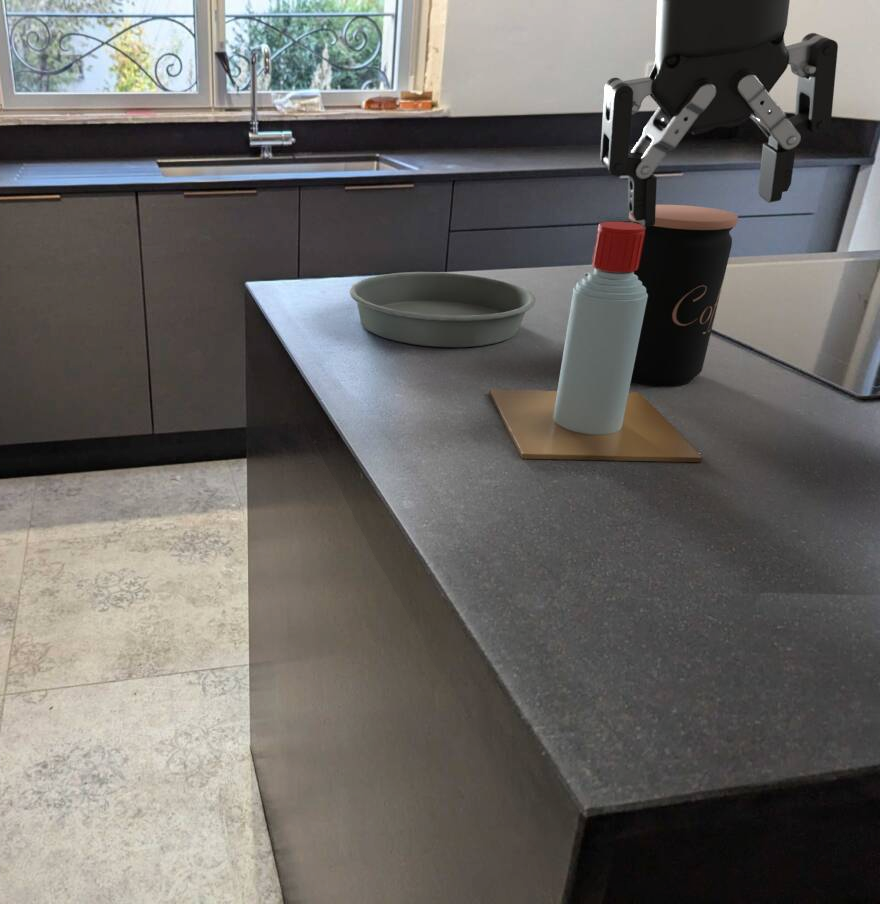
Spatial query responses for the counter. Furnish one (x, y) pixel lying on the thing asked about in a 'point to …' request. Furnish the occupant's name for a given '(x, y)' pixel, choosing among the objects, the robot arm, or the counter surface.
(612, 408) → the bottle
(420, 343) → the cake pan
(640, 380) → the coffee jar
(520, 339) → the counter surface
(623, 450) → the mat
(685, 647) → the counter surface
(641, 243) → the cap
